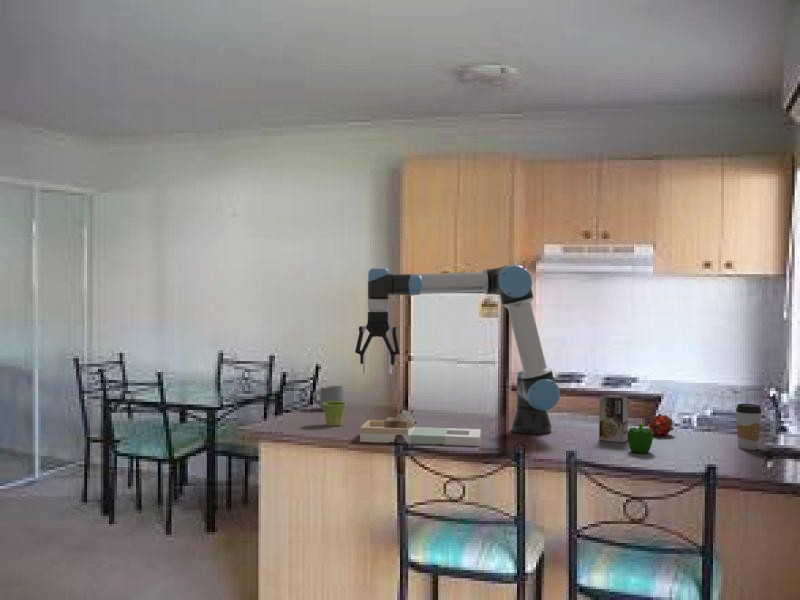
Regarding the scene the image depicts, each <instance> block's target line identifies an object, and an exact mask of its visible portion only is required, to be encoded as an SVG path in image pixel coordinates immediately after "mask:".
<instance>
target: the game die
mask: <svg viewBox="0 0 800 600" xmlns="http://www.w3.org/2000/svg"><path fill="white" fill-rule="evenodd" d="M413 412H414V409H413V410H411V411H409V410H405V409H404V408H403V409H402V410H399V413H398V414H397V415H396V416H395V417H398V418H409V421H411V422H413V426H414V425H415V424H418V421H416V419H415V416H414V414H413Z"/></svg>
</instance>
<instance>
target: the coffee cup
mask: <svg viewBox="0 0 800 600" xmlns="http://www.w3.org/2000/svg"><path fill="white" fill-rule="evenodd" d="M735 412H736V413H735V414H736V433H737V434H736V435H737V436H736V437H737V446H738V448H739V449H741V450H749V451H754V450H758V448H759V440H760V431H761V417H762V416H761V415H762V413H763V412H762V408H761V405H759V404H755V403H738V404H736V408H735Z"/></svg>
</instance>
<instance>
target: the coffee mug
mask: <svg viewBox="0 0 800 600" xmlns="http://www.w3.org/2000/svg"><path fill="white" fill-rule="evenodd" d="M317 395H319V398H320V399H319V400H318V399H317ZM312 399H313V402H314V403H315V404H317V405H318V406H320V410H321V411H324V412H325V409H324V406H323V404H322V403H324V402H344V386H342V385H323V386H320V389H319V390H315V391H314V392H313V394H312Z"/></svg>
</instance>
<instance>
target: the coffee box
mask: <svg viewBox="0 0 800 600" xmlns="http://www.w3.org/2000/svg"><path fill="white" fill-rule="evenodd" d="M598 399H599V400H598V402H599V404H598V409H599V412H598V414H599V418H598V419H599V421H598V423H599V425H598V428H599V429H598V440H599V441H605V442H606V441H607V442H614V443H624V442H627V440H628V435H627V433H628V431H629V396H628V395H626V396H625V395H618V394H617V395H616V394H602V395H600V396H599V398H598Z"/></svg>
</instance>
